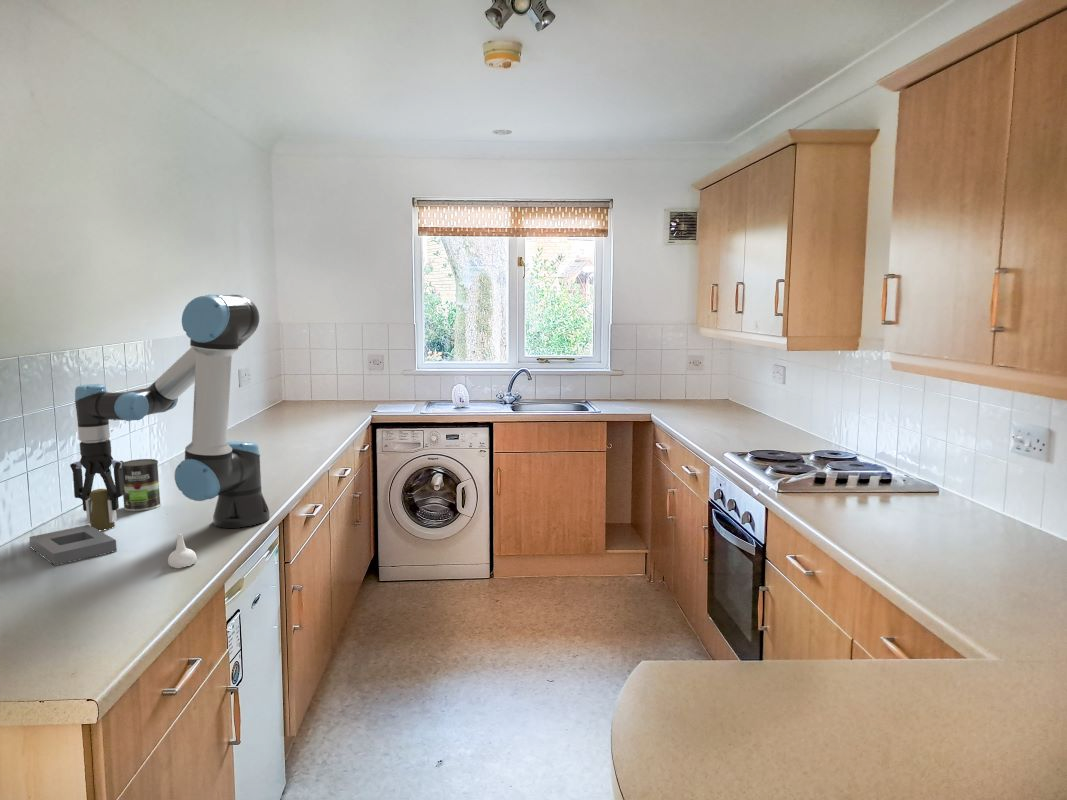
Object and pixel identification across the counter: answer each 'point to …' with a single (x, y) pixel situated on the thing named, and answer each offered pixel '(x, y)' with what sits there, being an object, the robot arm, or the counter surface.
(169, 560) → the garlic bulb
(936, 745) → the counter surface
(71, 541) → the dock board
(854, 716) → the counter surface
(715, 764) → the counter surface
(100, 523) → the cork
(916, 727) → the counter surface
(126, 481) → the coffee can
